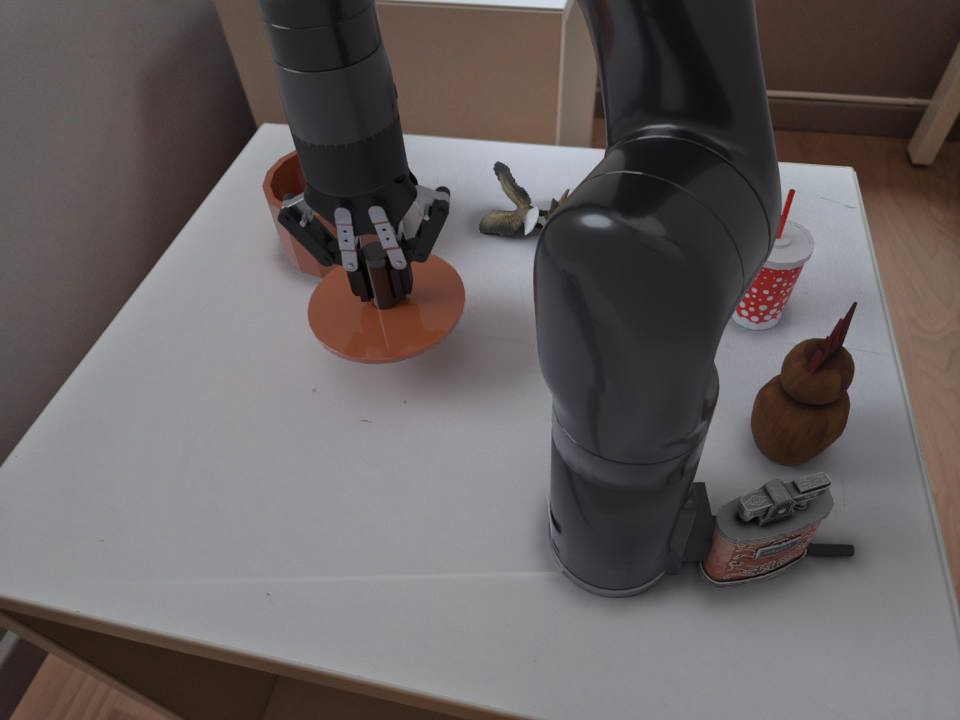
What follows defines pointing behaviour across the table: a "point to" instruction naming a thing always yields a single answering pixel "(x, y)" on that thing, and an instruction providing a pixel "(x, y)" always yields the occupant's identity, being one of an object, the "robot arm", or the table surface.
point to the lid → (386, 310)
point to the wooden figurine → (806, 399)
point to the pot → (275, 186)
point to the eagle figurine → (522, 215)
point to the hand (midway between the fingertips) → (385, 293)
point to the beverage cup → (776, 275)
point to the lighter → (766, 531)
